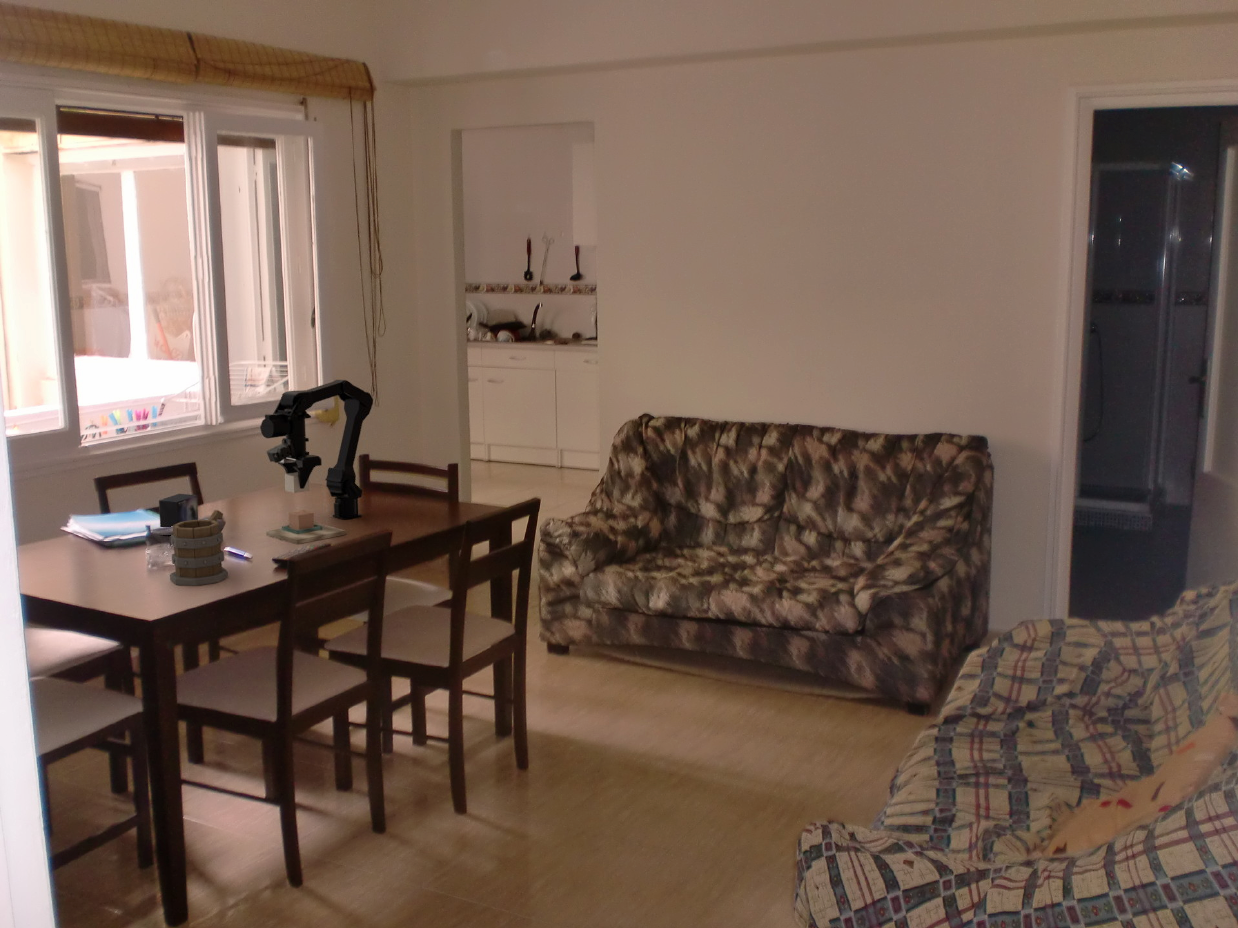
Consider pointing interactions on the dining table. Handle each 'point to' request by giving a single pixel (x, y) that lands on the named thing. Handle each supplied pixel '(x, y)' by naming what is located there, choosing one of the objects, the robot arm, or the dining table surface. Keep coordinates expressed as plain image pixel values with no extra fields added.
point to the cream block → (294, 483)
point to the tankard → (198, 552)
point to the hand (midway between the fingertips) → (297, 487)
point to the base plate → (305, 533)
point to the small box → (178, 509)
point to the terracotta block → (301, 520)
